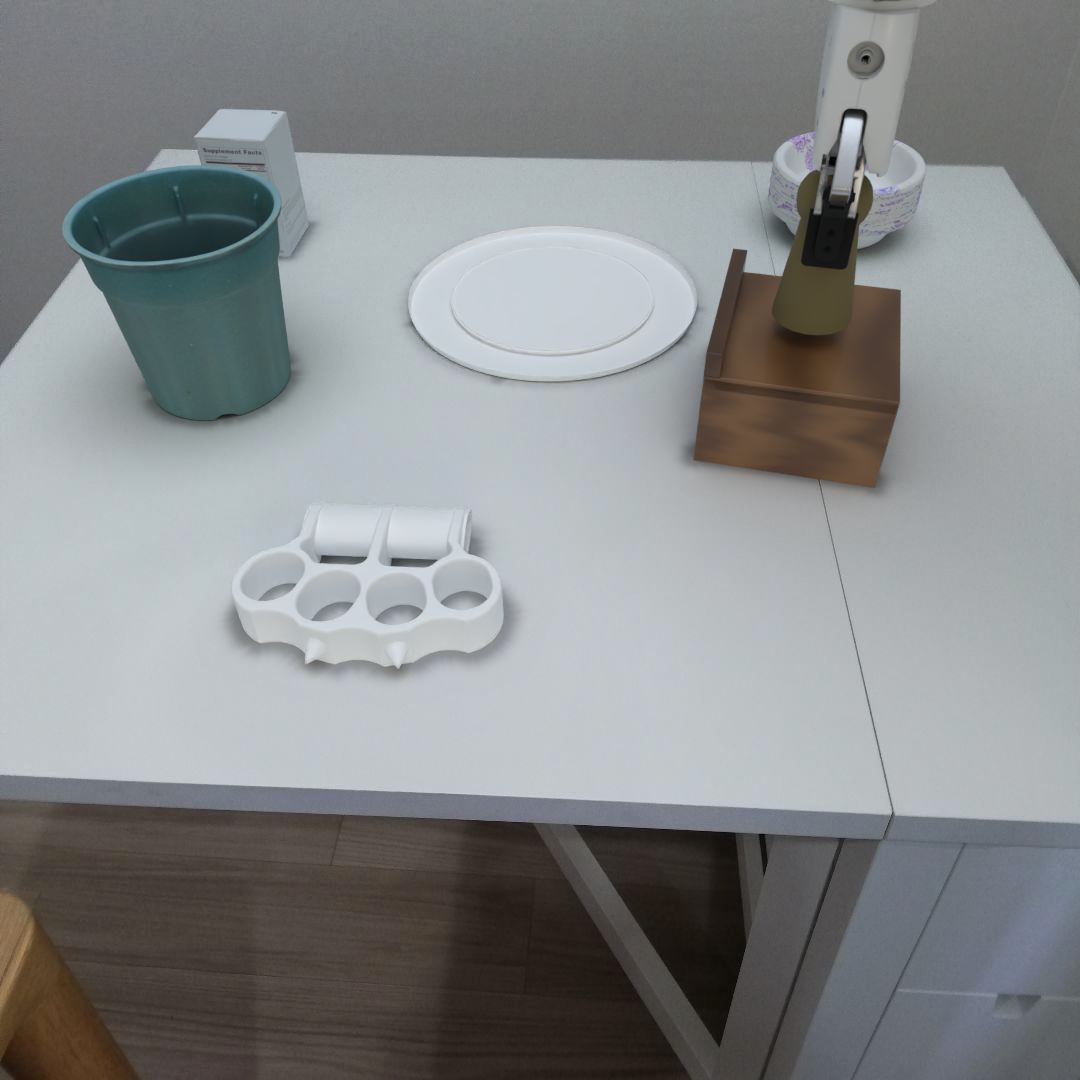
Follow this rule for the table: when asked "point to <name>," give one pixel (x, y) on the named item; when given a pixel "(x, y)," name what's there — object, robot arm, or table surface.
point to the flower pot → (191, 283)
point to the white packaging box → (259, 160)
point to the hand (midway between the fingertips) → (826, 243)
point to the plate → (552, 303)
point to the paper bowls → (890, 192)
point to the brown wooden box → (799, 385)
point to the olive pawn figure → (818, 273)
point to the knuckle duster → (372, 585)
